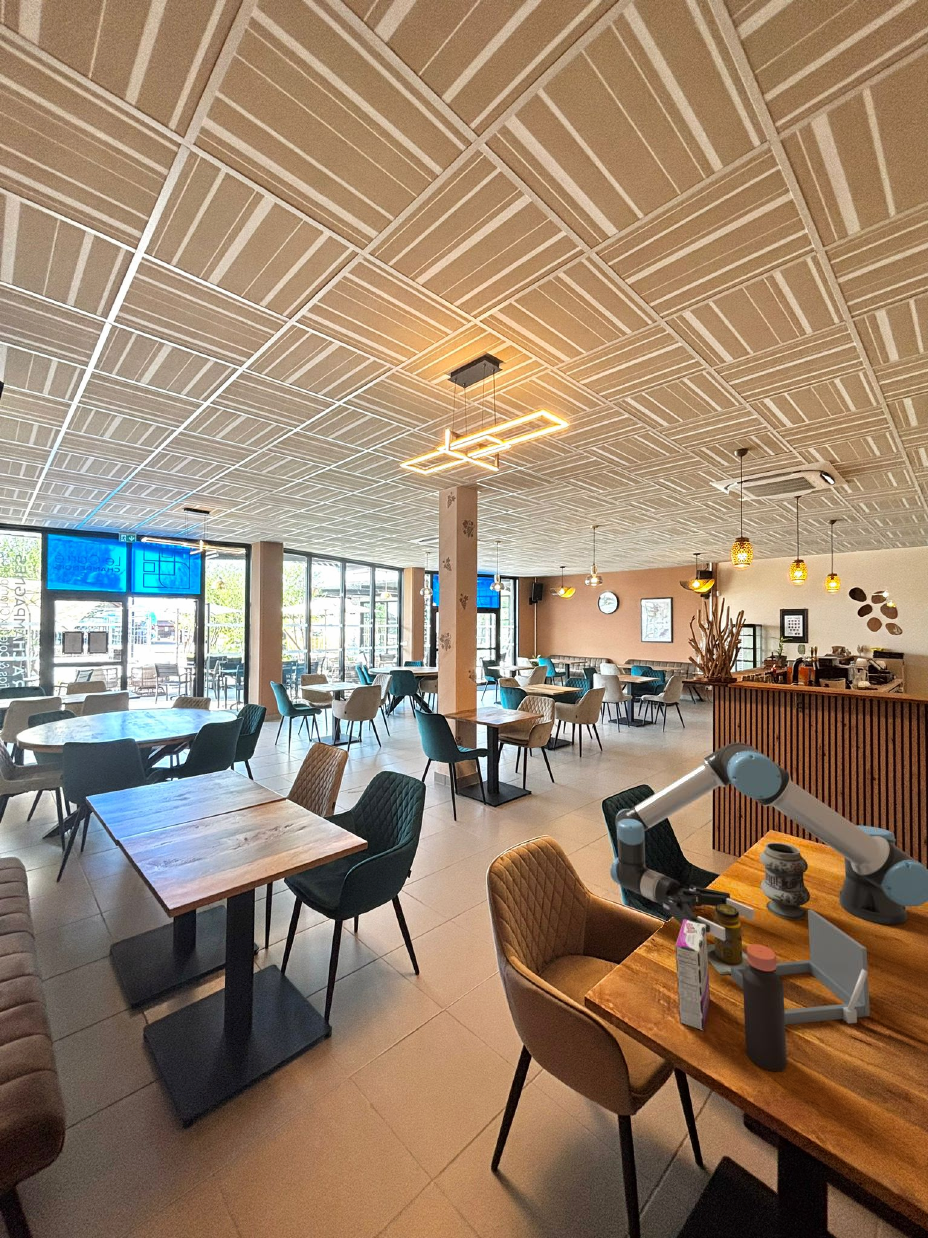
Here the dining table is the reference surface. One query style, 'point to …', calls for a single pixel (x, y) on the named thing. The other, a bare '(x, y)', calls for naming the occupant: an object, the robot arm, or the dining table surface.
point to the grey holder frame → (828, 973)
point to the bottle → (764, 1009)
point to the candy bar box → (692, 974)
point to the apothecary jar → (784, 880)
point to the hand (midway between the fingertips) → (739, 924)
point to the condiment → (728, 939)
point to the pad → (719, 969)
